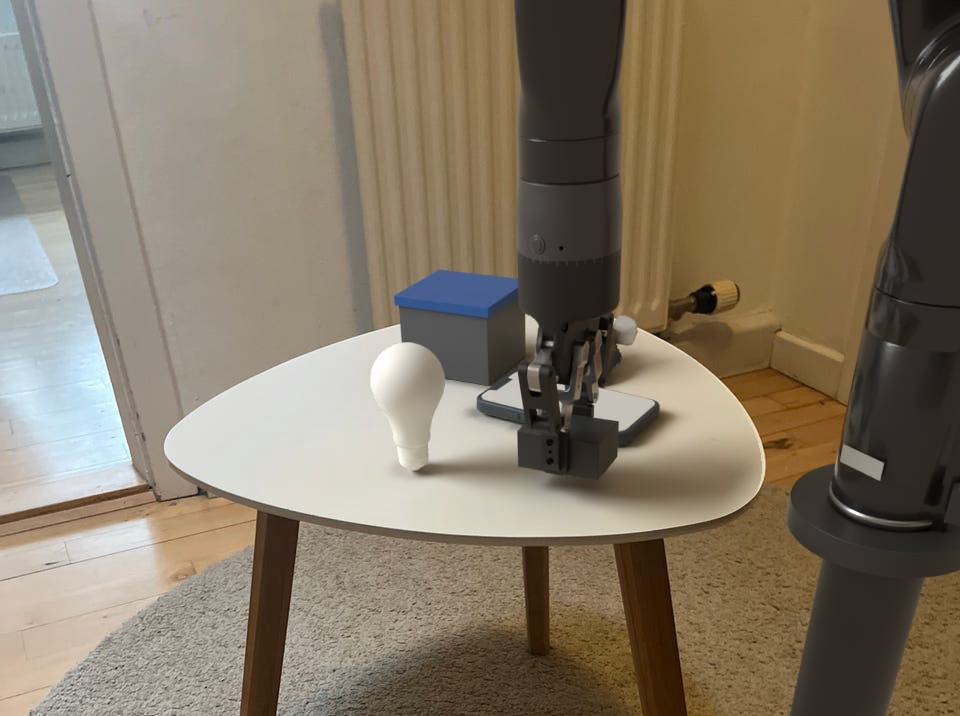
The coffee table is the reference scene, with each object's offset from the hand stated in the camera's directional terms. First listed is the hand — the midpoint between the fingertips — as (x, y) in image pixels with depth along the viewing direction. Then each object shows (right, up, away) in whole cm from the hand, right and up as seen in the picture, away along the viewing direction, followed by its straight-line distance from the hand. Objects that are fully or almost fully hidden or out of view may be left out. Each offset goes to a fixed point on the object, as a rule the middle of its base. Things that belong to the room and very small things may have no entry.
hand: (567, 457), depth 81 cm
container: (-9, +15, +24) cm, 29 cm away
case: (0, 0, 0) cm, 0 cm away
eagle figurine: (+4, +13, +21) cm, 25 cm away
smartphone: (+1, +6, +13) cm, 14 cm away
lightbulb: (-13, 0, +5) cm, 14 cm away
